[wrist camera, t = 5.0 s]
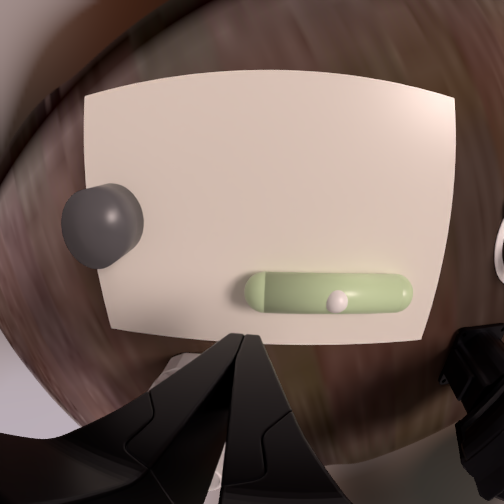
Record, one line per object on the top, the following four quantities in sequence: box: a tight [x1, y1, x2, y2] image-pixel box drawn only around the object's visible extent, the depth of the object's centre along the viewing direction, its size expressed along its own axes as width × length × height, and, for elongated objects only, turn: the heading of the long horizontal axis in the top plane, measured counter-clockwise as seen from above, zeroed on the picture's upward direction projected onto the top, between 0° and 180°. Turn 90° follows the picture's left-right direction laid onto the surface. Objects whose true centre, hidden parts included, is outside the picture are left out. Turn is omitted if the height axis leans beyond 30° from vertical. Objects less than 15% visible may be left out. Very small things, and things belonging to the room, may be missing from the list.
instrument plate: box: [61, 70, 456, 345], centre depth 12 cm, size 18×13×3 cm
